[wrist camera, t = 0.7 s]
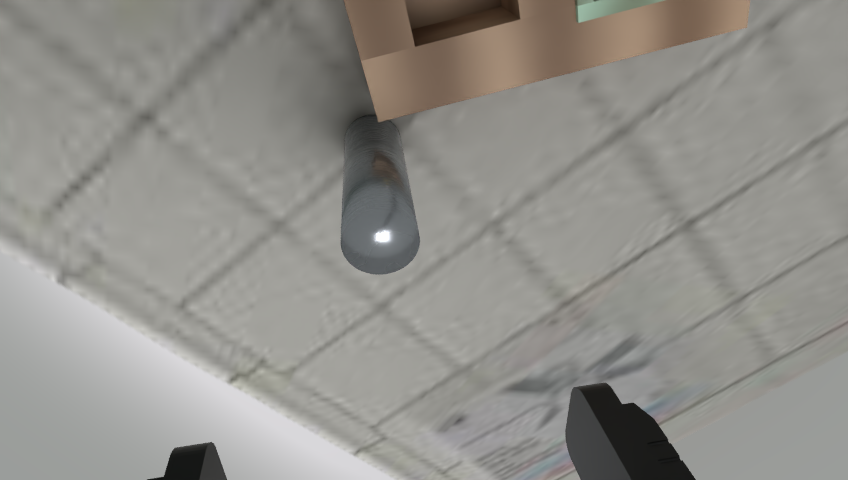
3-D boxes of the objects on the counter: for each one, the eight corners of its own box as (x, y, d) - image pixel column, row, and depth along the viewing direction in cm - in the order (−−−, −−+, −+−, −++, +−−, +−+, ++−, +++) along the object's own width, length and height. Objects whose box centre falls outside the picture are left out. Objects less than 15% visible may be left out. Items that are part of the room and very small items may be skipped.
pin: (392, 108, 33) (409, 199, 23) (406, 160, 35) (427, 263, 25) (337, 123, 33) (330, 219, 23) (354, 173, 35) (354, 281, 25)
